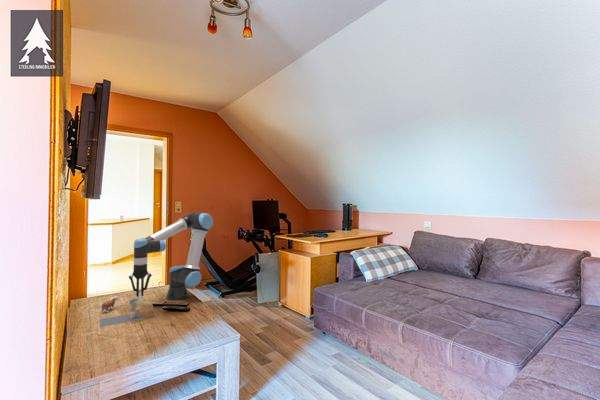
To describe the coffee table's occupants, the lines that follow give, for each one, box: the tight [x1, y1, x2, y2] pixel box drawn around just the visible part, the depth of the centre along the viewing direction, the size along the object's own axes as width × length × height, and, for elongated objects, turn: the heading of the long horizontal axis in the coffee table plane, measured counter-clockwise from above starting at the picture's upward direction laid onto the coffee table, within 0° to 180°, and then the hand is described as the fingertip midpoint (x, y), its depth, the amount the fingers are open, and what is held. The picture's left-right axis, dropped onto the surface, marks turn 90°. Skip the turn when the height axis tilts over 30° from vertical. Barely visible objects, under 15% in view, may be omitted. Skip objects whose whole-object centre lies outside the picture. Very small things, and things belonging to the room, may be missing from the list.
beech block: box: [128, 297, 140, 319], centre depth 186 cm, size 5×5×10 cm
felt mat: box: [99, 311, 144, 328], centre depth 182 cm, size 22×13×1 cm, turn 123°
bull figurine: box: [101, 295, 120, 314], centre depth 196 cm, size 4×13×8 cm, turn 174°
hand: (139, 301), depth 187 cm, fingers closed
